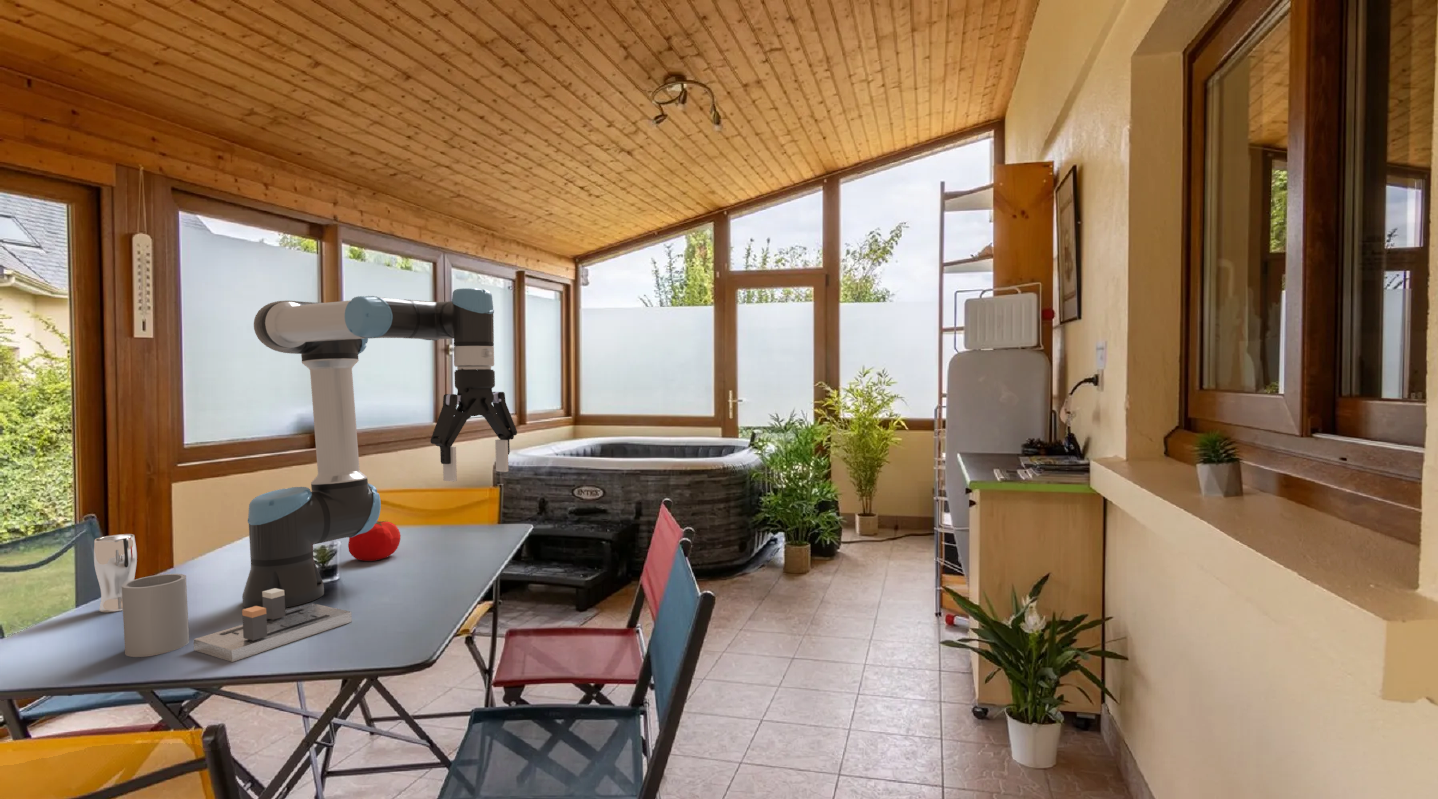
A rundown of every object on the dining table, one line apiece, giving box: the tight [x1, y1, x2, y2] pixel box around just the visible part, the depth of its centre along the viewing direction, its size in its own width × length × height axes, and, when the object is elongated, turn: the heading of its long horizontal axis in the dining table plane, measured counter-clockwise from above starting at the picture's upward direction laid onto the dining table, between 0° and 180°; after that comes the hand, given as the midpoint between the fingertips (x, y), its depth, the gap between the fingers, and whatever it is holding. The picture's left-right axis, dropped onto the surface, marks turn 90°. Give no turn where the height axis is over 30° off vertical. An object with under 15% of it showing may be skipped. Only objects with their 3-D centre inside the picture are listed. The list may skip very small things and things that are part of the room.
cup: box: [122, 573, 190, 658], centre depth 132 cm, size 9×9×12 cm
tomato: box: [347, 519, 402, 562], centre depth 194 cm, size 11×13×10 cm
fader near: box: [241, 606, 267, 641], centre depth 130 cm, size 3×2×5 cm
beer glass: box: [93, 533, 138, 613], centre depth 155 cm, size 7×7×15 cm
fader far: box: [262, 588, 286, 620], centre depth 141 cm, size 3×2×5 cm
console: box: [193, 603, 353, 663], centre depth 137 cm, size 12×22×2 cm, turn 151°
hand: (477, 476), depth 146 cm, fingers open, 13 cm apart
